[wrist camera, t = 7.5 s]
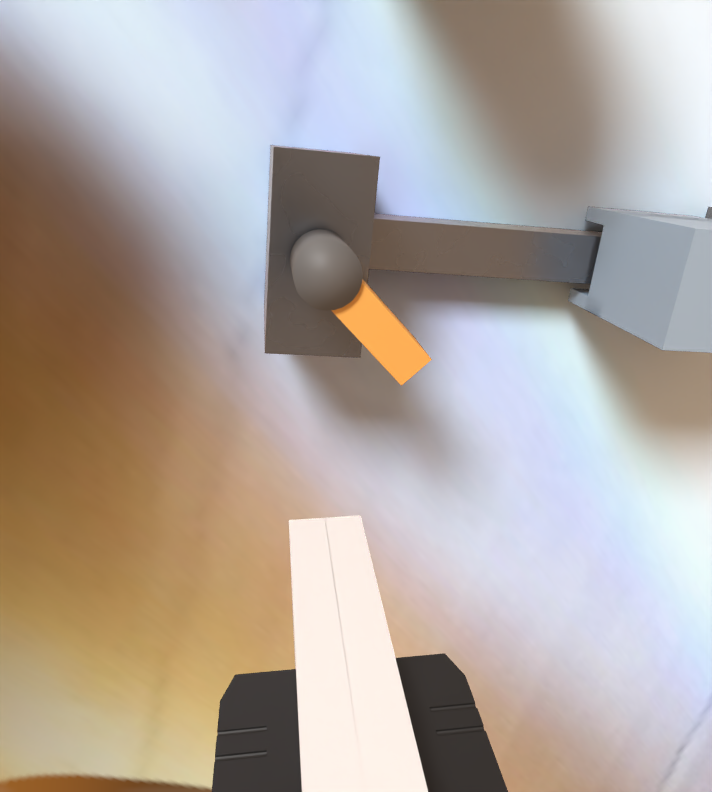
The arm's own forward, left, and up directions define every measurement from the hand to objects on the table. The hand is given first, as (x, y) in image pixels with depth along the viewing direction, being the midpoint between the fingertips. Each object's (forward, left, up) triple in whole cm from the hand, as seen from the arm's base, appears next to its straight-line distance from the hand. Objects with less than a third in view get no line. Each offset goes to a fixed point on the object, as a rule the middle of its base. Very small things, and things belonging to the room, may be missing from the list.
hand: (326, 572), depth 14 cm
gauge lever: (+2, +3, -14) cm, 14 cm away
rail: (+13, +4, -22) cm, 26 cm away
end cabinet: (+1, +4, -22) cm, 23 cm away
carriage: (+18, +4, -22) cm, 29 cm away
